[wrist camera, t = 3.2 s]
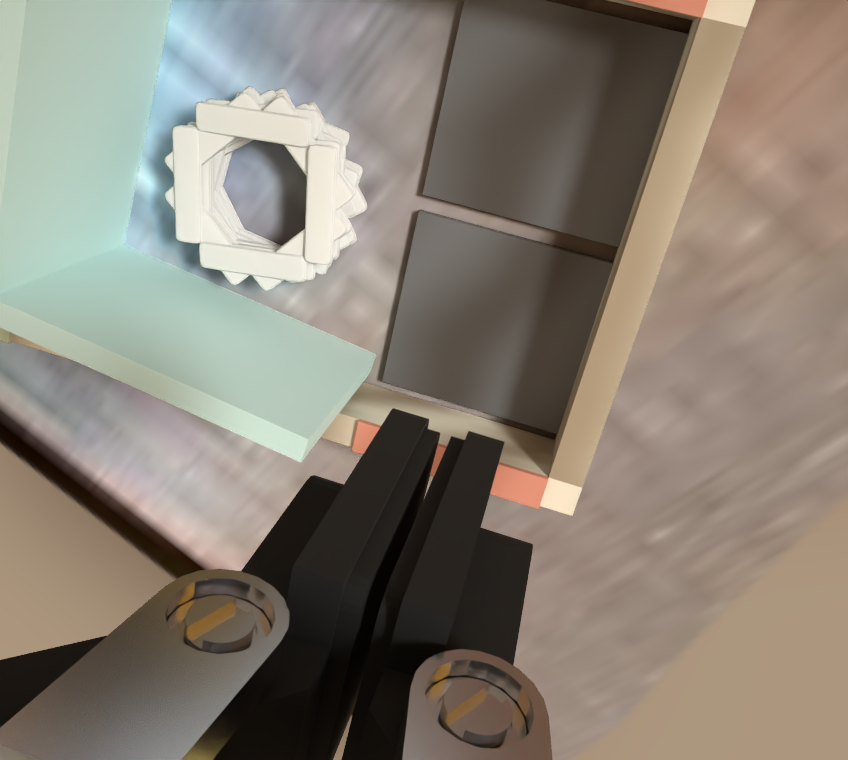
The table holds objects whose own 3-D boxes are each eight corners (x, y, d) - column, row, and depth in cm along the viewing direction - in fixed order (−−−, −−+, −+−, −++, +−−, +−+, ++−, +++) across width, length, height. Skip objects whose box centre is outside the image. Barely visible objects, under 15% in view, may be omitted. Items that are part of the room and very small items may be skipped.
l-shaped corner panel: (369, 373, 32) (300, 462, 25) (97, 253, 32) (-42, 308, 25) (482, 66, 26) (435, 72, 20) (155, -69, 27) (0, -107, 20)
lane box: (747, -15, 24) (777, -29, 19) (576, 475, 31) (568, 548, 27) (-194, -228, 28) (-353, -281, 23) (-150, 253, 35) (-265, 284, 30)
